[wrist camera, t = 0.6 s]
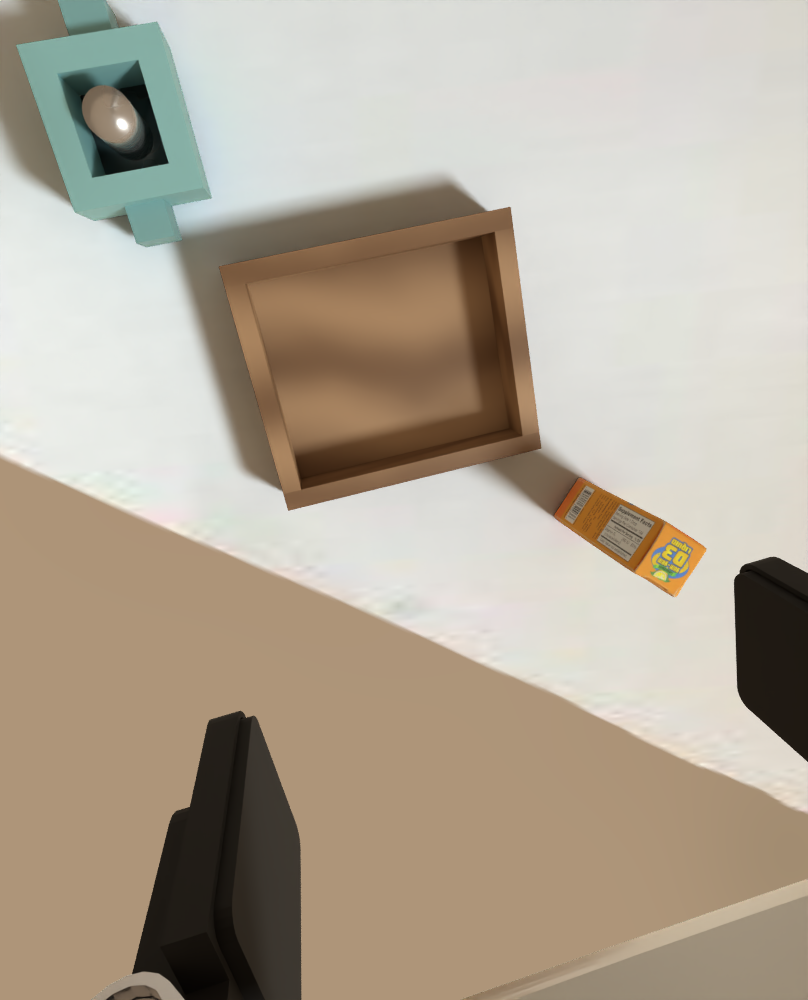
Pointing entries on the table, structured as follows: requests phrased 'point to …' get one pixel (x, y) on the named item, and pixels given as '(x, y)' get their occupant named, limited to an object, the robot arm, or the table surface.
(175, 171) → the teal tabbed square frame
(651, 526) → the supplement box
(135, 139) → the grey metallic peg stand
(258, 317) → the tray
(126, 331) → the table surface
